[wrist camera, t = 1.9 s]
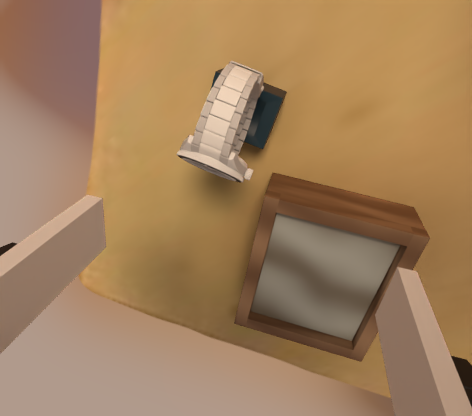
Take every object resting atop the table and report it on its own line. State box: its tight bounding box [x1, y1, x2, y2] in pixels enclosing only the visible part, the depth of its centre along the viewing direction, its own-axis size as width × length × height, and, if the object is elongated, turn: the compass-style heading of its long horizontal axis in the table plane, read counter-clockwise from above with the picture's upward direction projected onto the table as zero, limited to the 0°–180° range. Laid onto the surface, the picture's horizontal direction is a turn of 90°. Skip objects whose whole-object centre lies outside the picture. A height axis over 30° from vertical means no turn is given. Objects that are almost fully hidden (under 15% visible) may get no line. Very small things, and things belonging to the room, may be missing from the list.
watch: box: [177, 61, 286, 182], centre depth 25 cm, size 6×8×11 cm
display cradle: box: [234, 173, 430, 362], centre depth 32 cm, size 15×13×5 cm
